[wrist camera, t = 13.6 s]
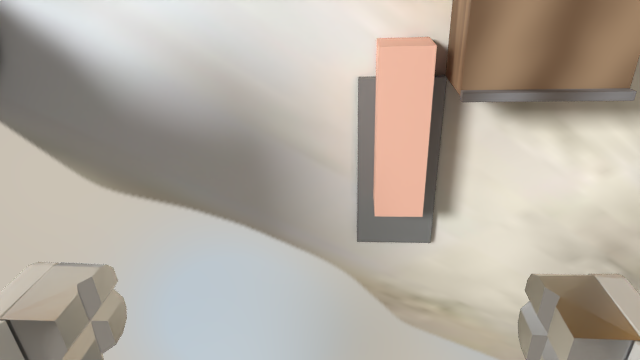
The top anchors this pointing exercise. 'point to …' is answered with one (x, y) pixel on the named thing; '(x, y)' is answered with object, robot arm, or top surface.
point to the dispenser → (543, 50)
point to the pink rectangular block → (402, 124)
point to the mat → (367, 222)
